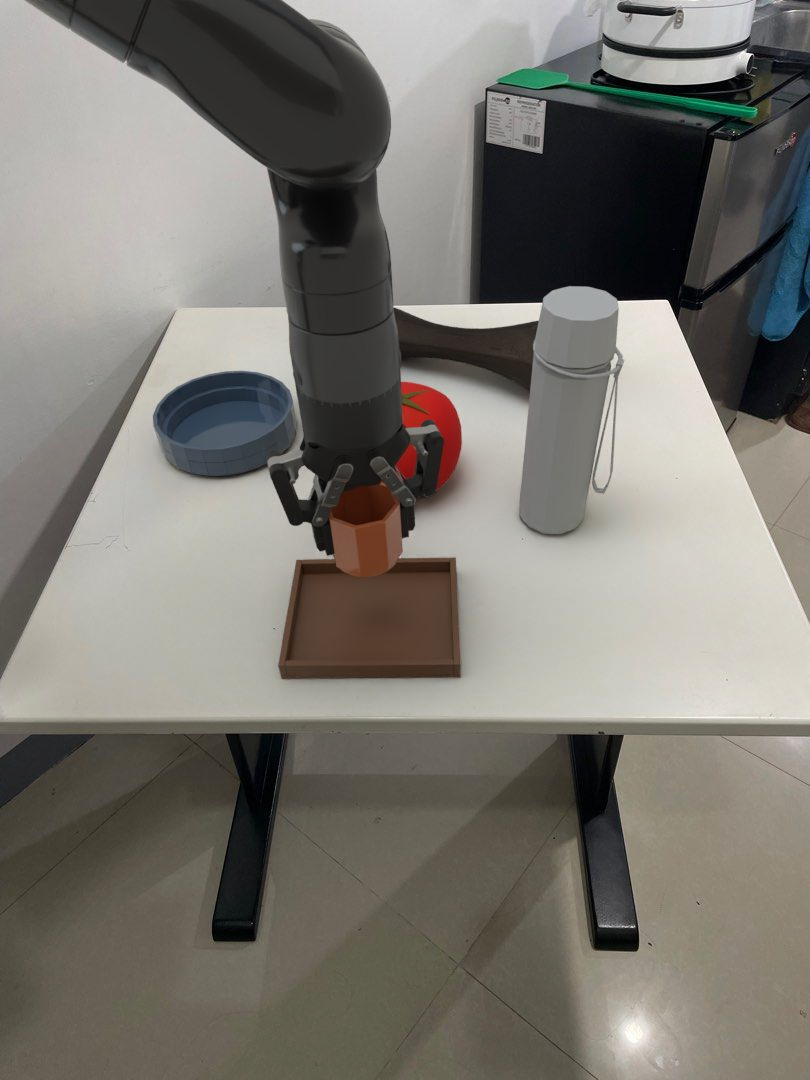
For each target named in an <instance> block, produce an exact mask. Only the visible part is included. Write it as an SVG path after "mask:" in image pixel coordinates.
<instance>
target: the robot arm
mask: <svg viewBox="0 0 810 1080" xmlns="http://www.w3.org/2000/svg"><path fill="white" fill-rule="evenodd" d="M24 1H25V2H26V3H27V4H28V5H31V6H32V7H33V8H35V9H37V11H39V12H41V13H43V14H44V15H45V16H47V17H48V18H50V19H52V20H53V21H55V22H56V23H58V24H60V25H61V26H63V27H64V28H66V29H68V30H70V31H71V32H72V33H74V34H75V35H77V36H78V37H80V38H82V39H83V40H84V41H86V42H89V43H90V44H91V45H93V46H95V47H96V48H98V49H99V50H101V51H102V52H103V53H105V54H107V55H109V56H111V58H114V59H115V60H117V61H119V62H120V63H122V64H125V62H126V66H127V67H128V68H130V69H131V70H133V71H136V72H137V73H138V74H140V75H142V76H144V77H146V78H148V79H149V80H151V81H154V82H155V83H157V84H159V85H160V86H162V87H164V89H166V90H168V91H169V92H171V93H172V94H173V95H175V97H177V98H178V99H179V100H181V101H182V102H183V103H184V104H185V105H187V106H188V107H189V108H190V109H191V110H192V111H193V112H194V113H195V114H196V115H198V116H199V117H200V118H201V119H203V120H204V121H205V122H207V123H208V124H209V125H210V126H212V127H213V128H214V129H215V130H217V131H218V132H219V133H220V134H222V135H223V136H224V137H225V138H227V139H228V140H229V141H230V142H231V143H233V145H235V146H237V147H238V148H239V149H241V150H242V151H243V152H245V154H247V155H249V156H250V157H251V158H253V160H255V161H256V162H258V163H259V164H261V165H262V166H264V167H265V168H266V170H267V176H268V180H269V185H270V190H271V195H272V201H273V204H274V209H275V213H276V219H277V220H276V221H277V230H278V231H277V232H278V233H277V235H278V255H279V268H280V276H281V282H282V290H283V293H284V294H283V295H284V301H285V307H286V314H287V320H288V348H289V355H290V361H291V366H292V376H293V380H294V386H295V391H296V397H297V403H298V409H299V415H300V422H301V427H302V434H303V435H302V440H301V442H300V445H299V449H296V450H293V451H291V452H288V453H285V454H282V453H280V452H278V451H270V452H269V453H268V454H267V455H266V461H267V463H266V465H267V468H268V472H269V476H270V480H271V482H272V484H273V487H274V489H275V492H276V495H277V496H278V499H279V501H280V504H281V506H282V508H283V511H284V513H285V516H286V518H287V520H288V524H290V525H291V526H293V527H299V526H301V525H303V523H308V524H310V525H311V529H312V536H313V540H314V543H315V546H316V549H317V550H318V552H325V555H326V556H327V557H329V556H333V554H334V547H333V540H332V533H331V527H330V523H329V519H328V518H329V515H330V513H331V511H332V508H333V507H336V506H337V503H338V501H339V499H340V496H341V494H342V492H345V491H350V490H353V489H356V488H358V487H360V486H374V485H378V484H381V481H383V482H384V484H385V485H386V486H387V487H388V489H389V490H390V491H391V493H392V494H394V495H395V496H396V497H397V499H398V501H399V503H400V514H401V531H402V540H403V539H407V538H409V537H410V532H411V531H414V529H415V527H416V511H415V510H416V509H415V504H416V501H417V500H418V499H419V498H421V497H423V496H424V497H426V498H428V497H433V496H434V495H435V494H436V493H437V490H438V489H437V484H438V478H439V471H440V465H441V459H442V453H443V447H444V438H443V437H442V435H441V433H440V431H439V429H438V428H437V426H436V424H435V422H434V421H433V420H431V419H427V420H425V421H423V422H422V424H421V427H413V428H406V427H405V425H404V424H403V412H402V391H401V382H402V374H401V368H402V367H401V366H402V364H403V363H402V360H403V359H401V353H400V349H399V337H398V330H397V325H396V320H395V315H394V308H395V306H394V291H393V274H392V257H391V248H390V243H389V237H388V233H387V229H386V225H385V223H384V220H383V217H382V214H381V209H380V205H379V204H380V203H379V194H378V193H379V192H378V175H377V174H378V173H377V169H378V167H379V166H380V164H381V163H382V161H383V159H384V157H385V155H386V152H387V149H388V146H389V143H390V137H391V131H392V116H391V115H392V114H391V106H390V101H389V97H388V93H387V90H386V88H385V85H384V83H383V80H382V79H381V77H380V75H379V73H378V72H377V70H376V68H375V67H374V66H373V64H372V63H371V61H370V59H369V58H368V56H367V55H366V54H365V52H364V50H363V49H362V47H361V46H360V45H359V44H358V43H357V41H355V39H353V37H351V36H350V35H349V34H348V32H346V31H344V30H343V29H342V28H341V27H339V26H337V25H335V24H333V23H330V22H329V21H325V20H322V19H314V18H308V17H306V16H305V15H303V14H302V13H301V12H299V11H298V10H296V9H295V8H294V7H292V6H291V5H290V4H288V3H286V2H285V1H284V0H24ZM409 444H412V445H413V447H414V449H415V451H416V453H417V457H416V464H415V471H414V476H412V477H410V478H408V479H406V478H405V477H404V475H403V474H402V473H401V471H400V470H399V469H398V467H397V465H396V464H397V462H398V461H399V460H400V458H401V457H402V455H403V454H404V452H405V451H406V449H407V448H408V446H409ZM302 467H305V468H306V469H308V470H309V471H310V472H311V473H313V474H314V476H313V480H312V481H313V482H312V488H311V490H310V493H309V495H308V498H307V499H300V498H299V497H298V493H297V491H296V488H295V486H294V484H296V482H297V480H298V479H299V476H300V474H299V471H300V470H301V468H302Z"/></svg>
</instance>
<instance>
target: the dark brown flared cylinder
mask: <svg viewBox="0 0 810 1080" xmlns="http://www.w3.org/2000/svg"><path fill="white" fill-rule="evenodd" d="M394 315H395V320H396V325H397V330H398V337H399V349H400V353H401V359H402V360H406V359H434V360H443V361H451V362H457V363H461V364H465V365H469V366H473V367H476V368H480V369H483V370H485V371H489V372H491V373H494V374H496V375H498V376H501V377H503V378H506V379H508V380H509V381H511V382H513V383H516V384H517V385H519V386H521V387H523V388H525V389H526V390H528V391H529V392H530V388H531V378H532V367H533V357H534V350H533V343H534V340H535V337H536V332H537V327H538V322H539V320H533V321H529V322H523V323H518V324H512V325H505V326H497V327H485V328H473V327H471V328H470V327H468V328H467V327H459V326H450V325H444V324H440V323H436V322H432V321H429V320H426V319H424V318H420V317H418V316H416V315H414V314H411V313H409V312H407V311H404V310H403V309H400V308H397V307H394Z"/></svg>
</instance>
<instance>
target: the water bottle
mask: <svg viewBox="0 0 810 1080" xmlns="http://www.w3.org/2000/svg"><path fill="white" fill-rule="evenodd" d="M619 310H620V308H619V303H618V298H616V297H615V296H613V295H612V294H611V293H609V292H608V291H606V290H603V289H598V288H595V287H591V286H579V285H578V286H575V285H573V286H572V285H568V286H565V287H560V288H557V289H553V290H551V291H550V292H548V293H547V294H546V295H545V296H544V297H543V298H542V303H541V308H540V313H539V318H538V321H539V322H538V327H537V332H536V337H535V340H534V343H533V350H534V357H533V367H532V378H531V388H530V391H529V399H528V400H529V401H528V410H527V420H526V431H525V440H524V451H523V461H522V471H521V483H520V493H519V502H518V516H519V517H520V518H521V519H522V521H523V522H524V523H525V524H526V525H527V526H528V528H531V529H533V530H535V531H537V532H539V533H541V534H543V535H562V534H565V533H567V532H570V531H574V530H575V529H576V528H577V527H578V526H579V525H580V524H581V522H582V521H583V520H584V518H585V513H586V507H587V502H588V497H589V490H590V485H592V488H593V491H594V493H597V494H602V495H604V494H605V493H606V491H607V489H608V488H609V484H610V482H611V478H612V474H613V472H614V456H615V440H616V422H617V421H616V420H617V402H618V386H619V385H618V384H619V376H620V374H621V371H622V368H623V366H624V363H625V359H624V358H623V354H622V352H620V349H619V348H618V347H617V339H618V338H617V337H618V322H619V312H620V311H619ZM615 355H616V356H617V361H616V364H615V367H614V368H612V361H613V360H614V359H615ZM611 375H613V378H614V380H613V383H612V390H611V393H610V398H609V402H608V406H607V410H606V415H605V418H604V425H603V428H602V431H601V436H600V441H599V435H600V429H601V425H602V419H603V414H604V408H605V402H606V397H607V392H608V386H609V382H610V381H609V380H610V377H611ZM613 395H614V402H613V403H614V405H613V407H614V408H613V421H612V437H611V451H610V467H609V468H610V469H609V476H608V480H607V482H606V484H605V486H604V487H603V488H602V487H598V486H597V482H596V479H595V478H596V473H597V469H598V464H599V459H600V454H601V450H602V446H603V441H604V437H605V433H606V428H607V423H608V418H609V413H610V409H611V404H612V401H613V400H612V399H613ZM598 441H599V446H598ZM597 447H598V450H597ZM596 452H597V453H596Z"/></svg>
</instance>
